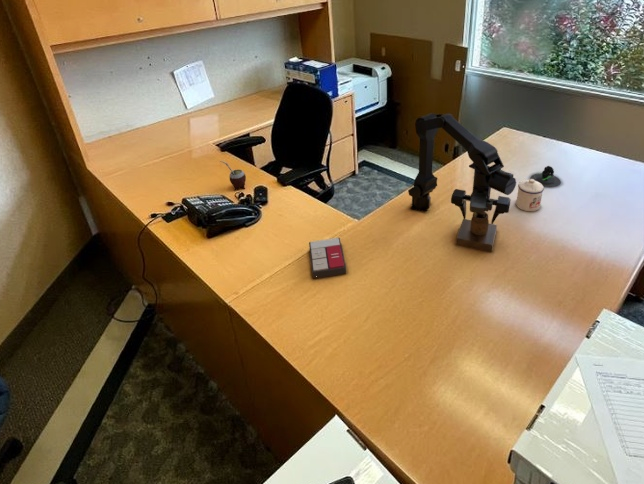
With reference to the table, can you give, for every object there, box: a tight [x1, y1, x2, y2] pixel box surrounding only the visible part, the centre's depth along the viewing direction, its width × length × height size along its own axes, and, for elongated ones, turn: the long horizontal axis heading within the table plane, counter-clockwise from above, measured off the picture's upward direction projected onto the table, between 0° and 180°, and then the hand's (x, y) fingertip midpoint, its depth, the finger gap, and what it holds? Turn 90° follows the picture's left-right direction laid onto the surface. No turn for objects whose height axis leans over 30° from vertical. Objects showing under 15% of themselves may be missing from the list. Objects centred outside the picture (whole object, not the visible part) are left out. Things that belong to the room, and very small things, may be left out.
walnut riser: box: [455, 218, 498, 253], centre depth 146 cm, size 12×12×3 cm
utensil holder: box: [470, 211, 491, 235], centre depth 143 cm, size 6×6×12 cm
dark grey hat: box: [529, 165, 562, 188], centre depth 175 cm, size 12×12×12 cm
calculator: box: [308, 237, 347, 280], centre depth 140 cm, size 11×4×15 cm
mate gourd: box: [219, 160, 247, 191], centre depth 185 cm, size 8×8×15 cm
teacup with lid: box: [515, 178, 545, 212], centre depth 160 cm, size 12×9×12 cm
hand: (478, 220), depth 143 cm, fingers open, 9 cm apart
